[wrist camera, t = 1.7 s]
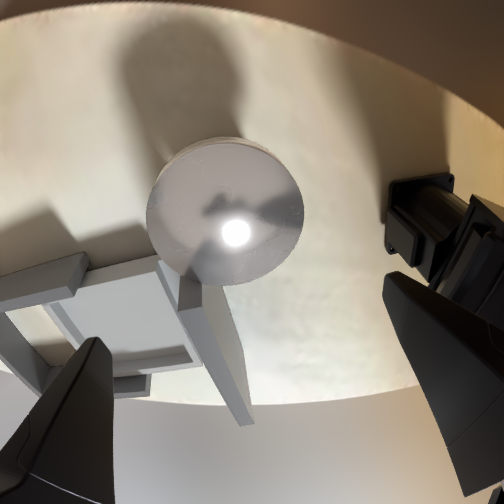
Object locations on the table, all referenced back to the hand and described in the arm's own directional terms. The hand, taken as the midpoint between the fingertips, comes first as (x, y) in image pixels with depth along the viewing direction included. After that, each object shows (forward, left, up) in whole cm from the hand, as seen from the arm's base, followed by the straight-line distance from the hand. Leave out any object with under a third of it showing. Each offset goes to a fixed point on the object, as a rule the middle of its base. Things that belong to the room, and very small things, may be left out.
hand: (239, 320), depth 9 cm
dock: (+19, +10, -12) cm, 24 cm away
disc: (0, 0, -7) cm, 7 cm away
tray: (+9, +10, -12) cm, 18 cm away
